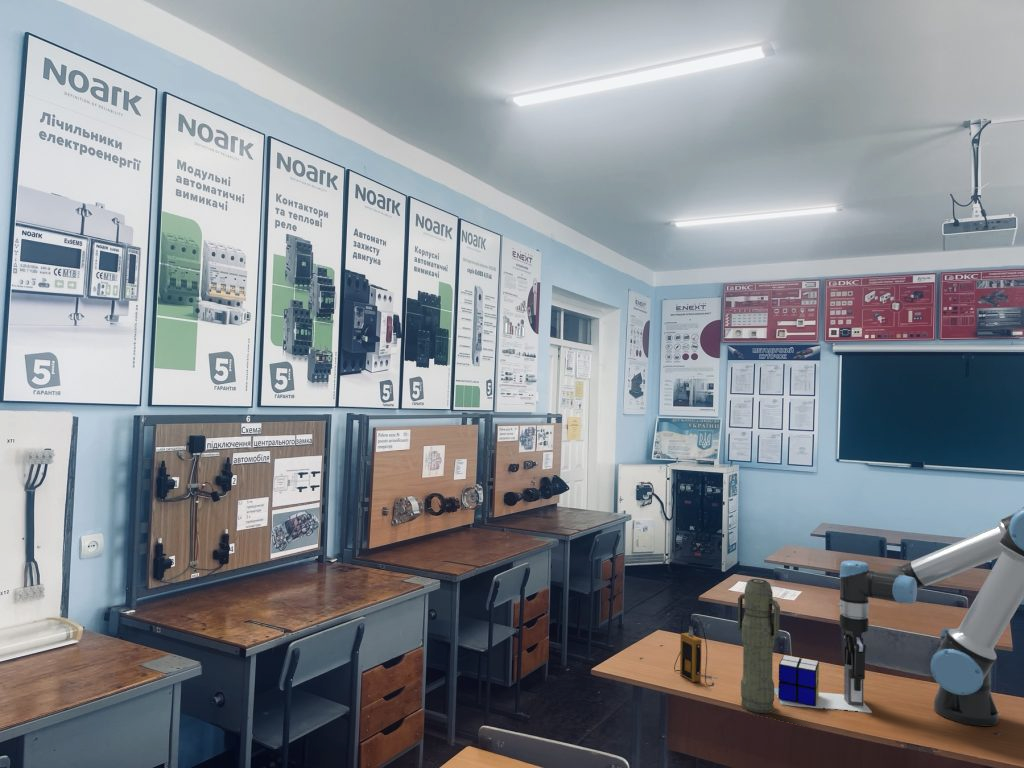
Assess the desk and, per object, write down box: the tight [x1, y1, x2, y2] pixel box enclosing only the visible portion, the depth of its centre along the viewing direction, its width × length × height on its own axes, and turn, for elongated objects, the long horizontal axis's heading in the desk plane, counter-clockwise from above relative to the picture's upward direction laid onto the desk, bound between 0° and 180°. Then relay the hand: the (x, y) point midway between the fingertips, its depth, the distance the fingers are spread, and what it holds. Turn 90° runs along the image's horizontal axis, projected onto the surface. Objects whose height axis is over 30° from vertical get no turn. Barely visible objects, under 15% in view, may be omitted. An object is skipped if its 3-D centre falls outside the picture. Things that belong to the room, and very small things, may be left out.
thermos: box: [737, 578, 781, 714], centre depth 200 cm, size 9×12×35 cm
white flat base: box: [774, 664, 873, 714], centre depth 205 cm, size 24×12×10 cm, turn 80°
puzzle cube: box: [777, 654, 820, 706], centre depth 206 cm, size 10×10×10 cm
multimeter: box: [673, 611, 718, 687], centre depth 221 cm, size 15×10×20 cm
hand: (853, 698), depth 203 cm, fingers closed on white flat base, 4 cm apart
